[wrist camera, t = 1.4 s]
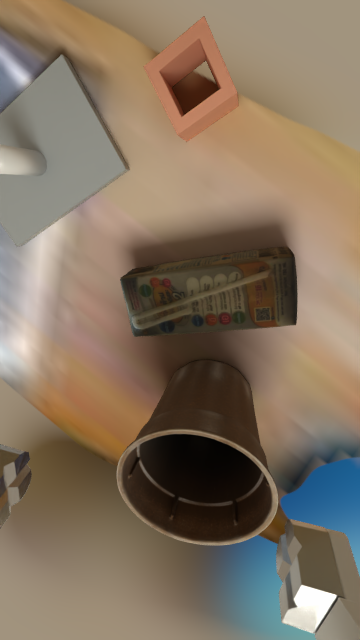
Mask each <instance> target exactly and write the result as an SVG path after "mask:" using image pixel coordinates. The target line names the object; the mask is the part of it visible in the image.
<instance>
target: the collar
mask: <svg viewBox="0 0 360 640" xmlns="http://www.w3.org/2000/svg"><path fill="white" fill-rule="evenodd" d="M205 61H207V63H208V66H209V68H210V70H211V72H212V75H213V77H214V79H215V81H216V84H217V86H218V88H219V90H218V91H217V92H215V93H214V94H213V95H211V96H210V97H208V98H207V99H206V100H204V101H203V102H202V103H200V104H199V105H197V106H196V107H195V108H193V109H192V110H191V111H189V112H188V113H187V114H185V115H184V113H183V110H182V108H181V106H180V104H179V102H178V100H177V98H176V96H175V94H174V92H173V90H172V88H171V87H172V86H174V85H175V84H176V83H178V82H179V81H180V80H181V79H183V78H184V77H185V76H187V75H188V74H189V73H190V72H192V71H193V70H194V69H196V68H197V67H198V66H199V65H201V64H202V63H203V62H205ZM144 69H145V71H146V73H147V75H148V77H149V79H150V81H151V83H152V85H153V87H154V89H155V91H156V93H157V95H158V97H159V99H160V101H161V103H162V105H163V107H164V109H165V111H166V113H167V115H168V117H169V119H170V121H171V123H172V125H173V127H174V129H175V131H176V133H177V135H178V136H180V137H181V138H182V139H184V140H185V141H186V142H187V141H189V140H190V139H191V138H193V137H194V136H196V135H197V134H199V133H200V132H202V131H203V130H204V129H206V128H207V127H209V126H210V125H212V124H213V123H215V122H216V121H217V120H219V119H220V118H222V117H223V116H225V115H226V114H228V113H229V112H230V111H232V110H233V109H235V108H236V107H238V95H237V91H236V89H235V86H234V84H233V82H232V79H231V77H230V75H229V72H228V70H227V68H226V65H225V63H224V61H223V58H222V56H221V54H220V51H219V49H218V47H217V45H216V42H215V40H214V38H213V35H212V33H211V31H210V28H209V26H208V24H207V21H206V19H205V17H202V18H201V19H200V20H199V21H198V22H196V23H195V24H194V25H193V26H192V27H190V28H189V29H188V30H187V31H186V32H184V33H183V34H182V35H181V36H180V37H178V38H177V39H176V40H175V41H174V42H172V43H171V44H170V45H169V46H168V47H166V48H165V49H164V50H163V51H162V52H161V53H159V54H158V55H157V56H156V57H155V58H153V59H152V60H151V61H150V62H149V63H147V64H146V65H145V66H144Z"/></svg>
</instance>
